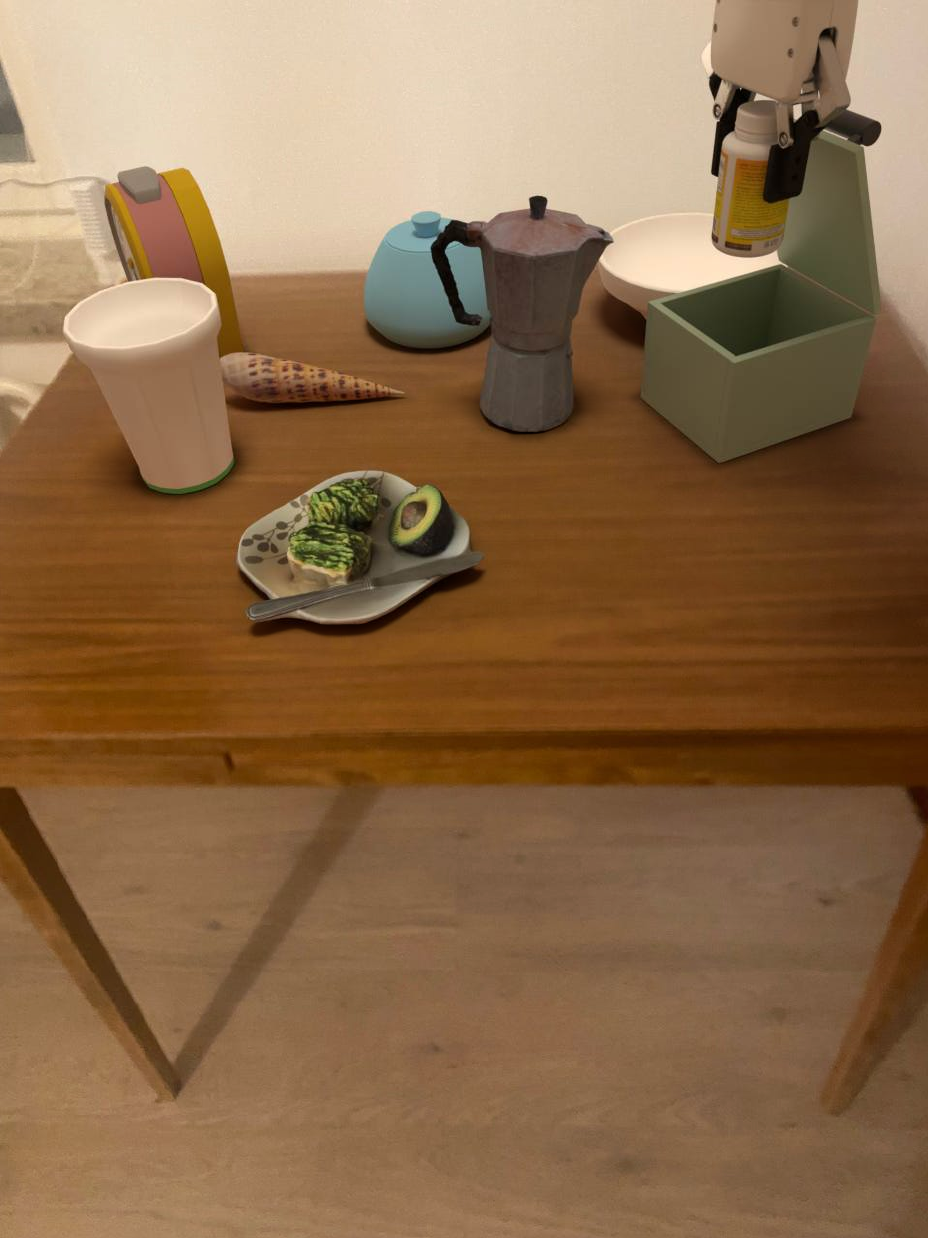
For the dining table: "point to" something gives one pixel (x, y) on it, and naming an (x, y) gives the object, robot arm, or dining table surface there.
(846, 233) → the box lid
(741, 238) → the supplement bottle
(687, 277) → the bowl
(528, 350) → the moka pot
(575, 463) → the dining table surface
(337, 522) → the avocado toast plate
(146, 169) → the alarm clock
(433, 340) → the sugar bowl
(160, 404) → the cup
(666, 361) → the green hinged box
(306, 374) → the seashell
